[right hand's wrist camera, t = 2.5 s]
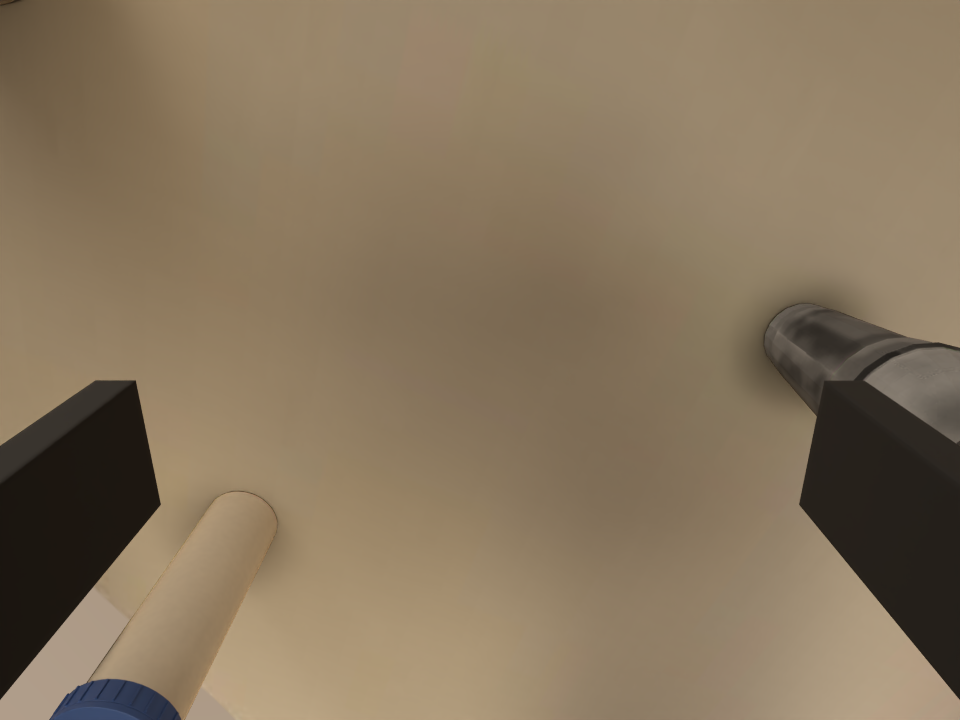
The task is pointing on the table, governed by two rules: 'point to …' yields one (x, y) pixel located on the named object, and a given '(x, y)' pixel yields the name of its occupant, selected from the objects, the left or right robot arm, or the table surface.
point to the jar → (194, 602)
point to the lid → (115, 702)
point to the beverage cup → (866, 363)
